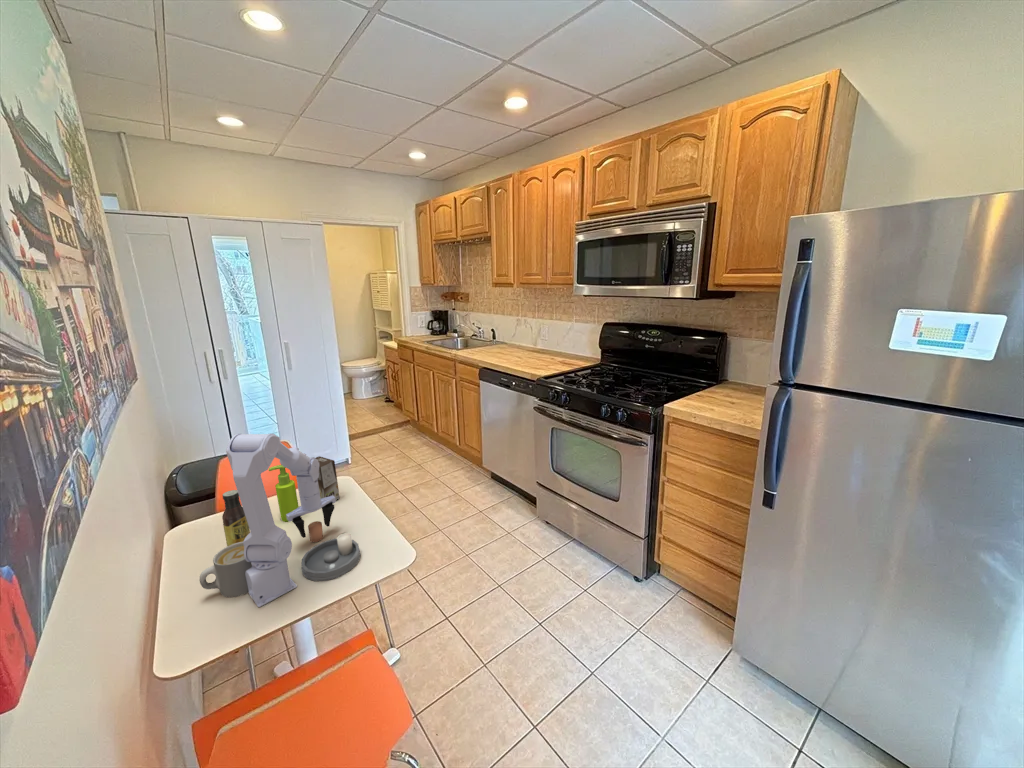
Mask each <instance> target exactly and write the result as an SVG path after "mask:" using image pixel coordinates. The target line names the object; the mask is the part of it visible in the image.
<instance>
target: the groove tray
mask: <svg viewBox="0 0 1024 768" xmlns="http://www.w3.org/2000/svg"><path fill="white" fill-rule="evenodd" d="M352 545H353V551H352V553H350V554H348V555H345V556H342V555H340V554H339V550H338V543H337V537H336V538H332V539H329V540H325V541H322V542H320V543H318V544H316V545H314V546H313V547H311V548H310V549H309V550H307V551H306V552H305V554H304V555H303V556H302V559H301V572H302V576H303V577H304V578H306V579H307V580H310V581H311V582H312V581H313V582H325V581H331V580H334V579H338V578H340V577H342V576H343V575H346V574H347V573H349V572H350V571H352V570H353V569H354V568H355V567H356V566H357V565H358V563H359V561H360V560H361V555H362V554H361V550H360V547H359V546H360V545H359V543H358V542H357V541H355V540H354V539H352Z"/></svg>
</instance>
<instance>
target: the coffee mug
mask: <svg viewBox="0 0 1024 768" xmlns="http://www.w3.org/2000/svg"><path fill="white" fill-rule="evenodd" d="M212 563H213V565H211V566H210V567H207V568H205V569H204V570H202V571H201V573H200V574H199V584H200V586H201V588H203V589H205V590H213V589H217V590H219V592H220V595H222V597H224V598H236V597H240V596H242V595H246V594H247V593H248V594H249V590H248V585H247V580H246V575H245V571H247V570H248V569H250V568H251V567H252V564H251V562H247V561H246V560H245V557H244V544H243V542H239V543H235V544H232V545H230V546H227V545H226V547H224V548H222V549H221V550H219V551H218V552H217V553H216V554H215V555H214V557H213V560H212ZM211 574H212V575H215V579H214V580H213V581H211V582H207V577H208V576H210V575H211Z"/></svg>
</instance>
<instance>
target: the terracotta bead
mask: <svg viewBox="0 0 1024 768" xmlns="http://www.w3.org/2000/svg"><path fill="white" fill-rule="evenodd" d="M307 528H308V529H307V530H308V536H309V541H310V542H311V543H317V542H319V541H320V542H321V541H322V540H323V539H324V530H323V522H321V521H320V520H317V521H313V522H310V523H309V524H308V525H307Z"/></svg>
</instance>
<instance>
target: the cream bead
mask: <svg viewBox="0 0 1024 768" xmlns="http://www.w3.org/2000/svg"><path fill="white" fill-rule="evenodd" d="M336 538H337V543H338V550H339V554H340V555H342V556H345V555H348V554H350V553H352V551H353V545H352V540H353V539H352V534H351V533H350V532H345V533H341V534H339V535H338V536H337V537H336Z"/></svg>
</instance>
